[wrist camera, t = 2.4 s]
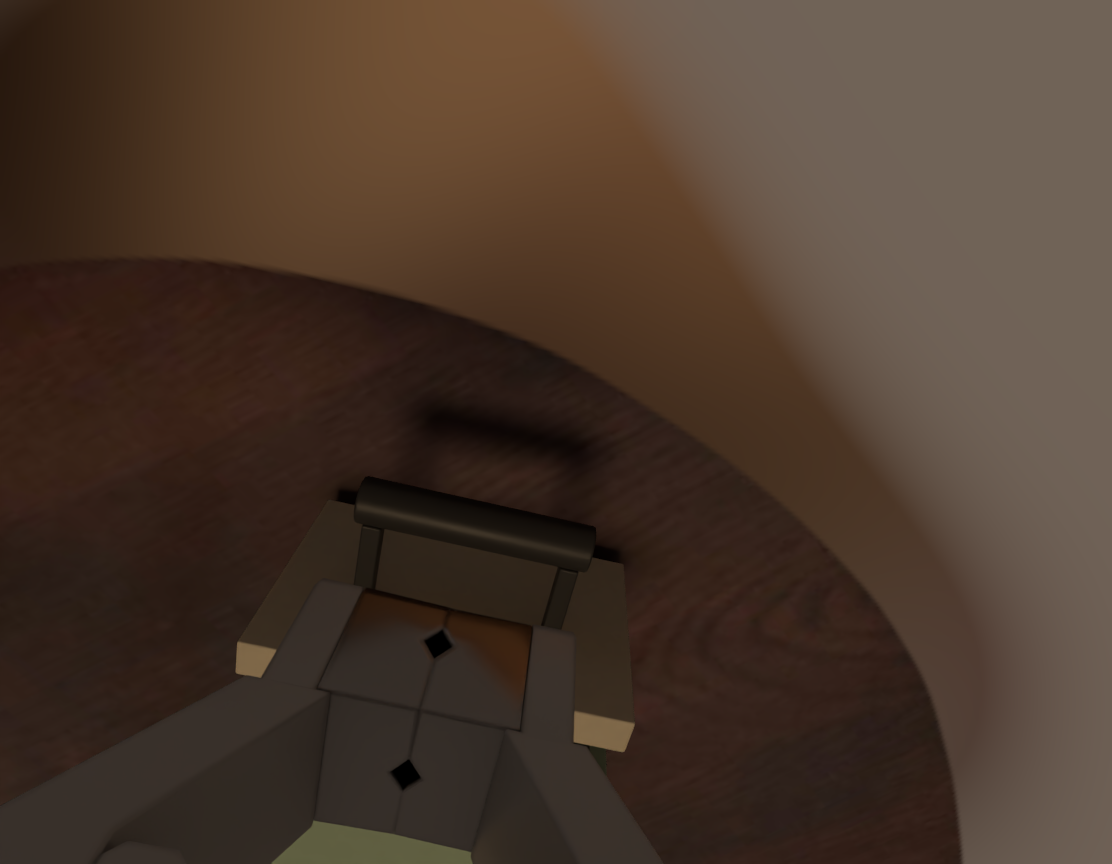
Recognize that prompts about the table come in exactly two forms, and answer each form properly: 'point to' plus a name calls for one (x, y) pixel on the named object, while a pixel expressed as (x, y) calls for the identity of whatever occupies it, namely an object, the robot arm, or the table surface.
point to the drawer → (469, 583)
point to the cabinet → (376, 844)
